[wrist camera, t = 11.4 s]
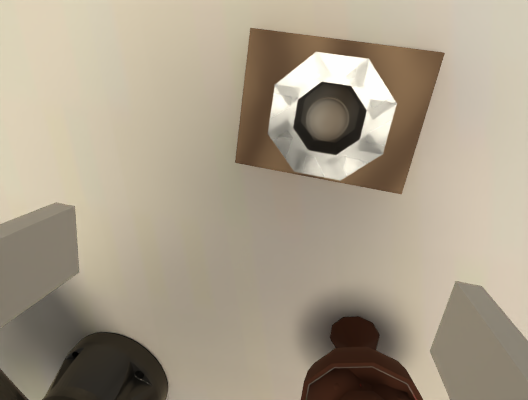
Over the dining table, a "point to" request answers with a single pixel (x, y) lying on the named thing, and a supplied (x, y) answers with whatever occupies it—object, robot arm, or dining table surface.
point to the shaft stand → (336, 102)
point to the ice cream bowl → (357, 368)
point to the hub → (350, 146)
